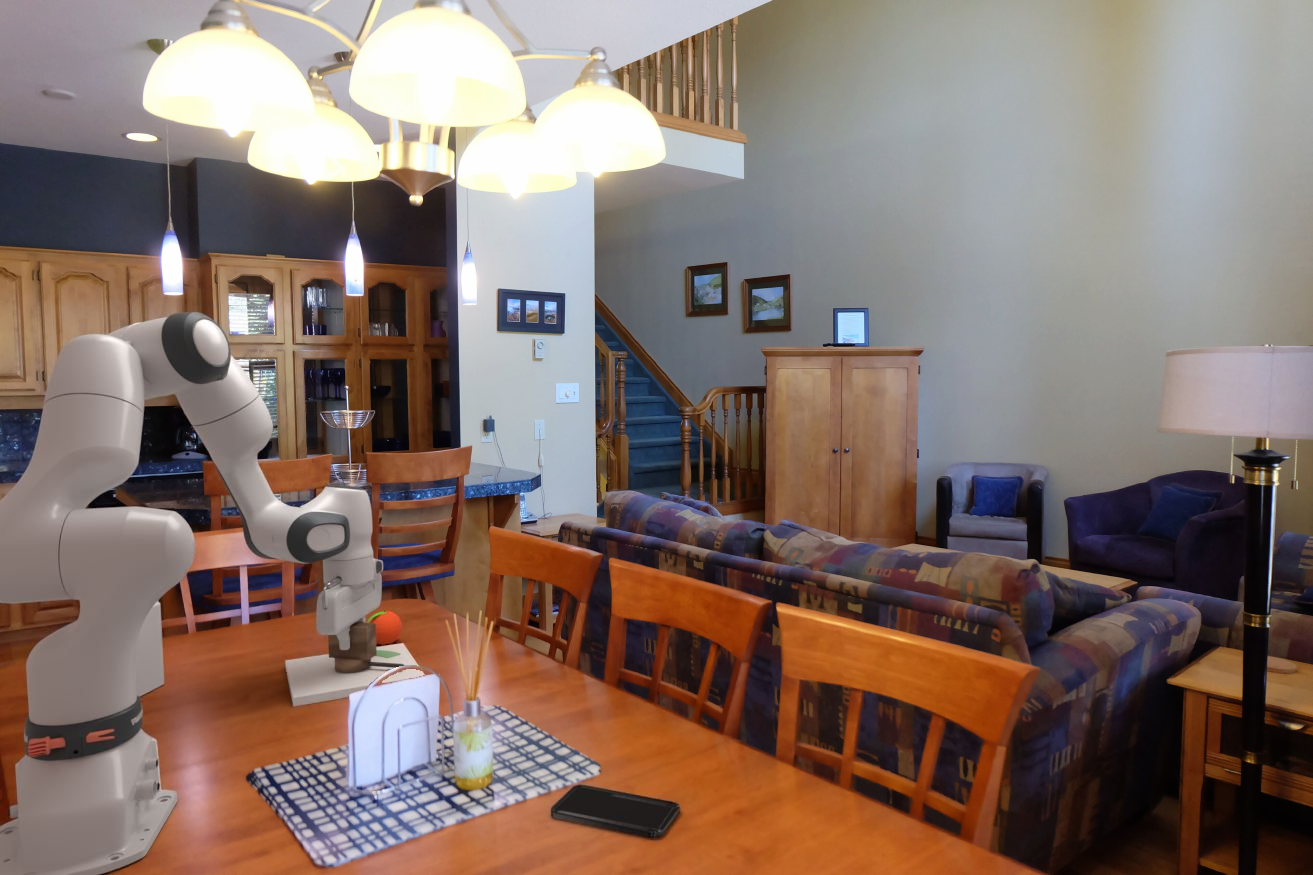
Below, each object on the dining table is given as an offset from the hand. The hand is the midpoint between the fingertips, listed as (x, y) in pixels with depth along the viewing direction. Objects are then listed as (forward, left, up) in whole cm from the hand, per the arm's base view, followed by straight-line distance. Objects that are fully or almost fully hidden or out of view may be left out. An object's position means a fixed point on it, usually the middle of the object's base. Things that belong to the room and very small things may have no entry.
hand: (351, 644), depth 155 cm
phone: (-69, -23, -6) cm, 73 cm away
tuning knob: (-2, -2, -4) cm, 5 cm away
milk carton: (+11, +36, -6) cm, 38 cm away
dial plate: (0, 0, -6) cm, 6 cm away
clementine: (+17, -8, -6) cm, 20 cm away
